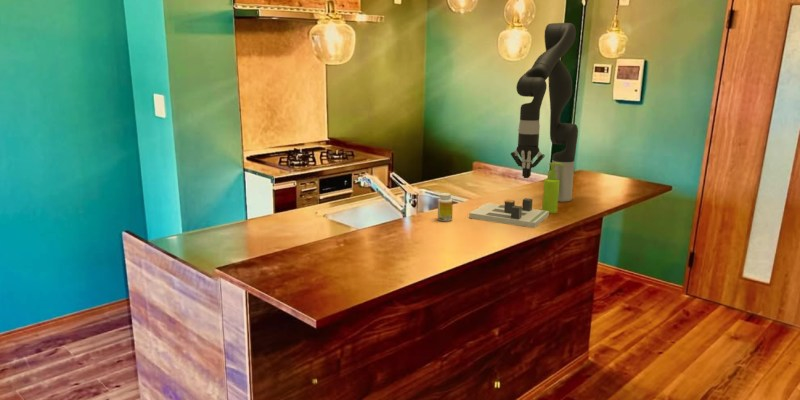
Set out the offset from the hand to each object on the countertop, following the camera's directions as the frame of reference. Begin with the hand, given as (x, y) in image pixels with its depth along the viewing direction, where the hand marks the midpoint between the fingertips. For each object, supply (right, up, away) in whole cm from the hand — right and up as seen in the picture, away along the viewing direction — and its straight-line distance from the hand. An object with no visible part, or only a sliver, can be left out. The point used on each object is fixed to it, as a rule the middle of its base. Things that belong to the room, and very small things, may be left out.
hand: (526, 177), depth 212 cm
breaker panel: (-5, -15, +7) cm, 17 cm away
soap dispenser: (+13, -13, +15) cm, 24 cm away
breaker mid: (-5, -13, +6) cm, 15 cm away
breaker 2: (+3, -12, +9) cm, 16 cm away
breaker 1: (-4, -15, -1) cm, 16 cm away
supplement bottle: (-30, -16, +3) cm, 35 cm away
